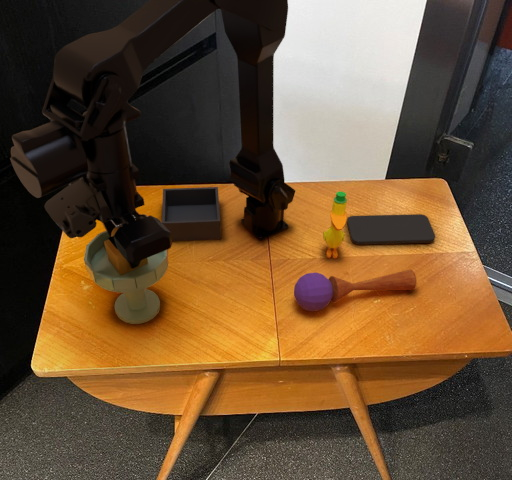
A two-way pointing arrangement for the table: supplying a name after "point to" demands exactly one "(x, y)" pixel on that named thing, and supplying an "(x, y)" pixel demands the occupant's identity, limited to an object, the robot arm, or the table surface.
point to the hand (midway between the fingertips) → (127, 258)
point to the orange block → (119, 257)
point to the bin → (192, 213)
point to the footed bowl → (127, 281)
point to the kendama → (344, 287)
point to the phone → (390, 229)
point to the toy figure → (336, 224)
